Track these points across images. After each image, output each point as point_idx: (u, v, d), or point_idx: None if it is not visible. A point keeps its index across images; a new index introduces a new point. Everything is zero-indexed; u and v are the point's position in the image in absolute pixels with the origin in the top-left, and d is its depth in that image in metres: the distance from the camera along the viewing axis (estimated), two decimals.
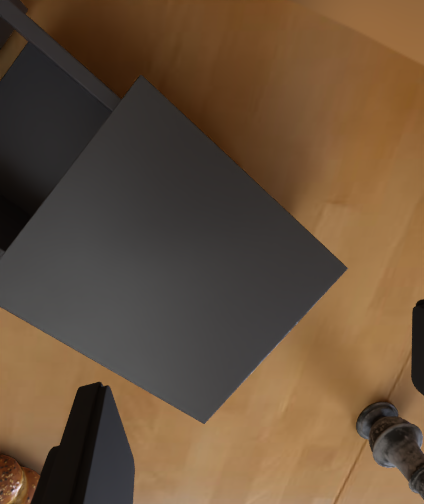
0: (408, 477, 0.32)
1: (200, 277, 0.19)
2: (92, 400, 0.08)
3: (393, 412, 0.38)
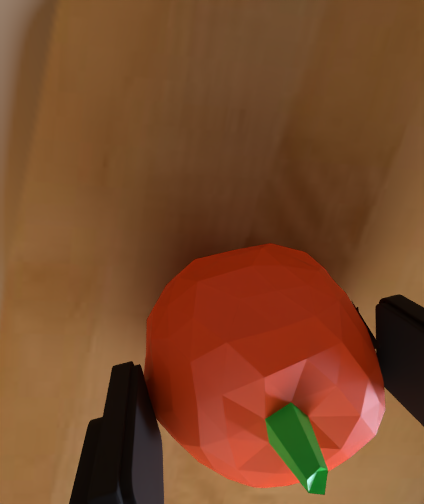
0: None
1: None
2: (127, 376, 0.09)
3: None
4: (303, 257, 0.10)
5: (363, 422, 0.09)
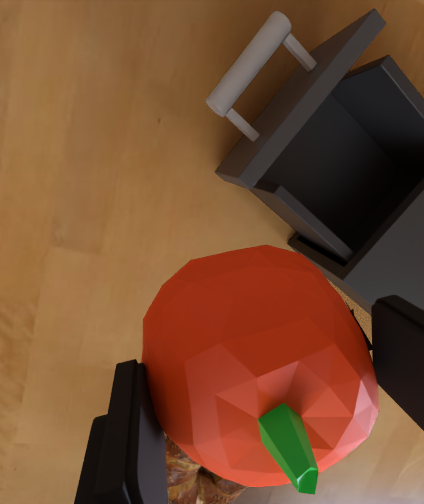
0: None
1: None
2: (131, 374, 0.09)
3: None
4: (298, 258, 0.10)
5: (356, 423, 0.09)
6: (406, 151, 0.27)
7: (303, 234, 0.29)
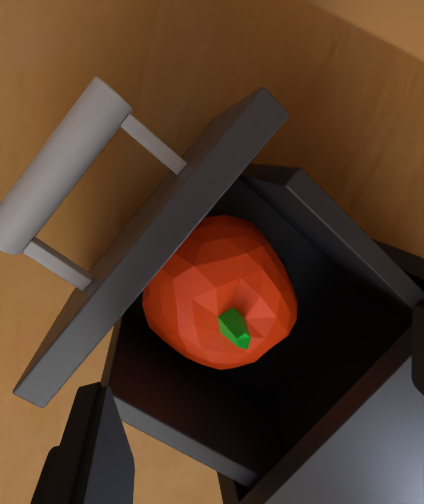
0: None
1: None
2: (92, 400, 0.08)
3: None
4: (245, 222, 0.15)
5: (278, 321, 0.14)
6: (359, 279, 0.17)
7: None
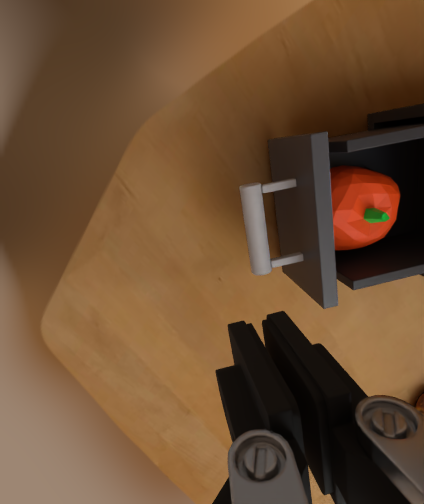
0: None
1: None
2: (247, 331, 0.10)
3: None
4: (333, 170, 0.27)
5: (390, 194, 0.26)
6: None
7: None
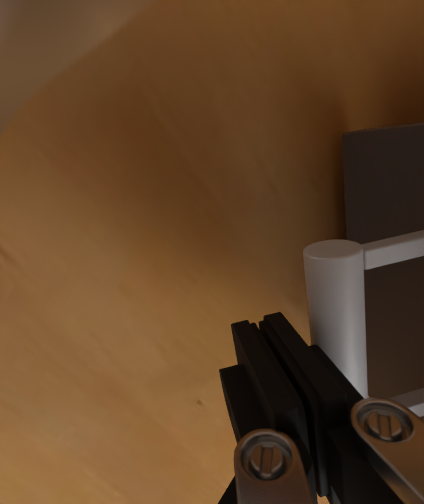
0: None
1: None
2: (251, 330, 0.10)
3: None
4: None
5: None
6: None
7: None
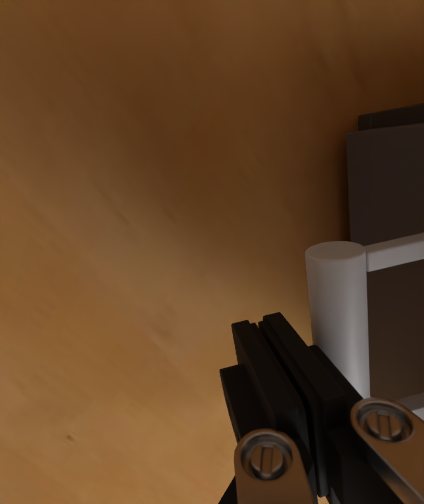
0: None
1: None
2: (251, 330, 0.10)
3: None
4: None
5: None
6: None
7: None
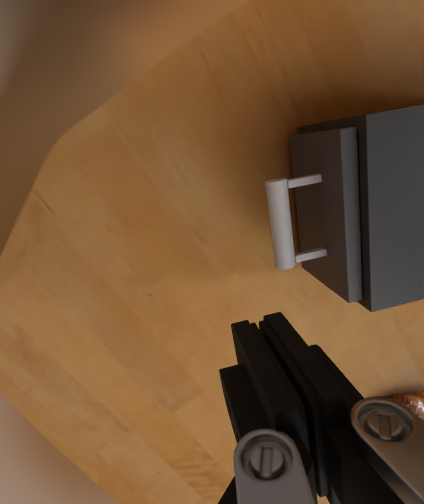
0: None
1: None
2: (251, 330, 0.10)
3: None
4: None
5: None
6: None
7: None
